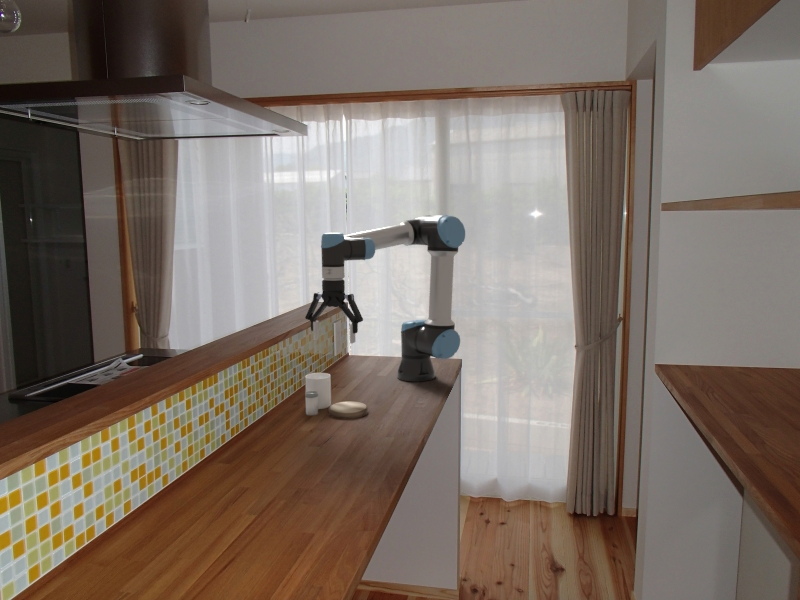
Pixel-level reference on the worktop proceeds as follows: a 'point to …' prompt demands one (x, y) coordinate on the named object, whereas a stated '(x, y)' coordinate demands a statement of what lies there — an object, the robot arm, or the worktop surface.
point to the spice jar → (311, 403)
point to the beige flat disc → (348, 410)
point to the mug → (320, 388)
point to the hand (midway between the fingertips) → (334, 341)
